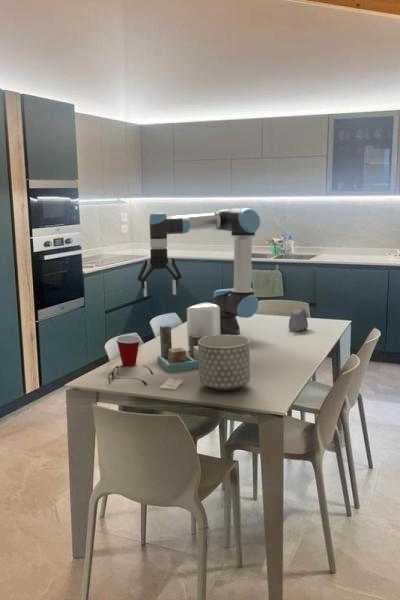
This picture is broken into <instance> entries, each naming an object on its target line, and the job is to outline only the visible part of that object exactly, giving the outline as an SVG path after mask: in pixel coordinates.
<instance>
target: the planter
mask: <svg viewBox="0 0 400 600" xmlns="http://www.w3.org/2000/svg"><path fill="white" fill-rule="evenodd" d="M250 342H251V341H250V339H249V338H248V337H245V336H241V335H238V334H235V335H213V336H208V337H204V338H201V339H200V340H199V341H198V353H199V368H198V377H199V378H198V381H199V383H200V384H201V385H203V386H205V387H208V388H210V389H212V390H215V391H217V392H218V391H219V392H228V391H235V390H236V389H237V390H238V389H239V388H240V387H243V386H245V385H247V384H248V383H250V381H251V363H250V361H251V355H250V353H251V351H250V348H251V347H250V346H251V345H250Z"/></svg>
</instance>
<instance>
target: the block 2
mask: <svg viewBox="0 0 400 600" xmlns="http://www.w3.org/2000/svg"><path fill="white" fill-rule="evenodd" d="M200 339H201V336H199V335H198V334H197V335H189V346H190V351H189V356H190V357H191V358H193V359H194V360H199V353H198V341H199V340H200Z"/></svg>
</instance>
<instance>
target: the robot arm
mask: <svg viewBox="0 0 400 600" xmlns="http://www.w3.org/2000/svg"><path fill="white" fill-rule="evenodd" d="M260 225H261V219H260V216H259V213H258V212H257V211H256V210H255V209H253V208H251V207H250V208H247V207H233V208H232V207H230V208H225V209H220V210H213V211H211V212H210V213H198V214H195V213H194V214H183V215H168V216H167V213H165V212H161V213H159V212H156V213H155V212H153V213H152V212H151V214H149V242H150V244H149V245H150V246H149V248H150V254H149V255H150V259H143V264H142V266H141V268H140V271H139V272H138V275H137V278H136V280H137V281H139V282H140V287H141V290H143V296H144V297H145V298H146V297H148V293H147V292H148V291H147V290H148V289H147V281H146V280H148V278H149V277H150V275H151V274H152V273H153V272H154V271H155V270H164V269H165V270H166V272H168V274H169V275H170V276H171V277H172V278H173V279H172V295H175V296H176V295H177V288H178V287H179V280H180V279H182V278H183V277H182V274H181V272H180V270H179V269H178V267H177V265H176V260H175V258H172V257H171V258H168V249H167V248H168V235H182V234H188V233H189V231H198V230H209V229H211V230H213V231H227V232H230V233H231V237H232V238H233V239H234V240H233V241H234V242H233V243H234V245H233V247H234V249H233V250H234V251H233V252H234V253H233V255H234V256H233V287H232V288H223V289H217V290H214V291H213V296H212V297H213V304H216V305H218V306H219V307H220V332H221V335H238V334H240V332H241V329H240V328H241V327H240V324H239V322H238V319H237V317H239V318H240V319H241V318H243V319H247V318H252V317H253V316H254V315H255V314H256V313H257V311H258V308H259V300H258V298H257V296H255V294H254V293H255V289H253V288H252V253H253V251H252V248H253V247H252V246H253V239H254V238H255V236H256V232H257V231H258V229H259V228H260ZM149 264H150V267H149V269H147V267H148V265H149ZM168 264H170V265H171V266H172V268H173V269H172V270H174V271H172V270H171V269H170V267H169V266H168ZM146 269H147V271H146Z"/></svg>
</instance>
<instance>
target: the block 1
mask: <svg viewBox="0 0 400 600" xmlns="http://www.w3.org/2000/svg"><path fill="white" fill-rule="evenodd" d="M159 336H160V337H159V338H160V342H159V343H160V356H161V357H162V358H164V359H166V358H168V363H169V364H173V363H180V362H186V354H187V350H185V349H184V348H183V347H175V348H172V347H173V346H172V327H171V325H169V324H163V325H159Z"/></svg>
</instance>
